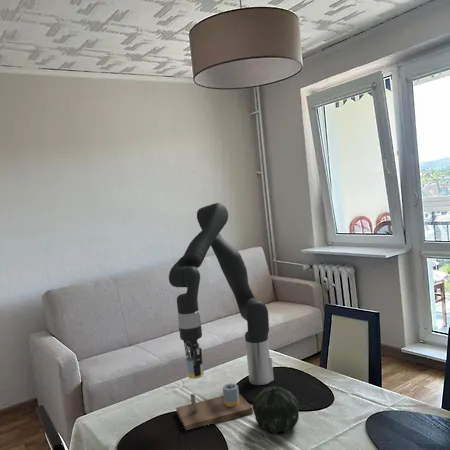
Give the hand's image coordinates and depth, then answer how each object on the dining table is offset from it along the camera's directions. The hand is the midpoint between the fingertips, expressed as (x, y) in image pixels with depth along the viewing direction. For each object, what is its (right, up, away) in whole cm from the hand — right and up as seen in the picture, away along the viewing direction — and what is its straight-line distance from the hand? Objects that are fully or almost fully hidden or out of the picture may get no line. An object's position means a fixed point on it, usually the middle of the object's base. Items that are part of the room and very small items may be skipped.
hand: (195, 372), depth 153 cm
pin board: (+6, -16, +6) cm, 18 cm away
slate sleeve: (0, -1, 0) cm, 1 cm away
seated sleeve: (+13, -14, +8) cm, 20 cm away
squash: (+28, -15, -7) cm, 32 cm away
